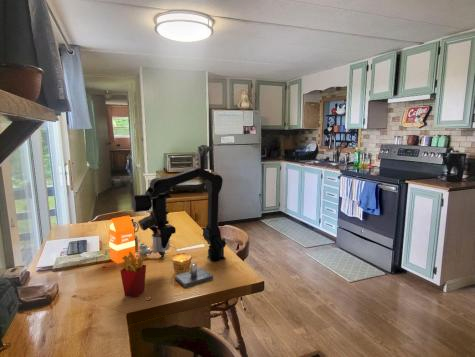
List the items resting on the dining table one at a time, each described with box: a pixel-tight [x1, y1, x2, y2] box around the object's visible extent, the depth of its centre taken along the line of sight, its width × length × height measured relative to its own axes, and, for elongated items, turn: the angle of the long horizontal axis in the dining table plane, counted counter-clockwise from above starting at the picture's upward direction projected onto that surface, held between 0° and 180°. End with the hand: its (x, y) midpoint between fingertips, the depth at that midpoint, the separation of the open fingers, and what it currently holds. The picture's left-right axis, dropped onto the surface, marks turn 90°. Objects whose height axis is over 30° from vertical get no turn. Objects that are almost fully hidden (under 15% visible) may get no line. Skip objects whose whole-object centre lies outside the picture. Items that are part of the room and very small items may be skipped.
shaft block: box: [174, 263, 214, 288], centre depth 120 cm, size 12×9×6 cm
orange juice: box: [108, 215, 137, 264], centre depth 140 cm, size 8×9×20 cm
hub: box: [151, 233, 170, 253], centre depth 125 cm, size 7×7×6 cm
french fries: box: [117, 252, 147, 299], centre depth 108 cm, size 9×8×15 cm
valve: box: [137, 242, 166, 259], centre depth 142 cm, size 7×7×12 cm
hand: (160, 245), depth 126 cm, fingers closed on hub, 7 cm apart
